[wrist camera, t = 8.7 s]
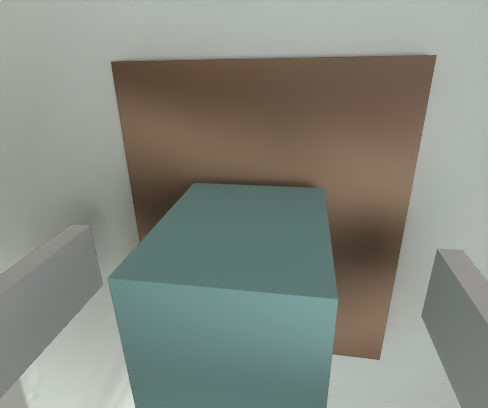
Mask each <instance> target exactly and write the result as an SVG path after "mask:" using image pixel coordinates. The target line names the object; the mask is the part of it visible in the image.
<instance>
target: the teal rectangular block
mask: <svg viewBox="0 0 488 408" xmlns="http://www.w3.org/2000/svg"><path fill="white" fill-rule="evenodd" d="M108 282H109V287H110V291H111V296H112V301H113V305H114V310H115V314H116V319H117V324H118V328H119V333H120V338H121V342H122V347H123V352H124V356H125V361H126V366H127V370H128V375H129V380H130V384H131V389H132V394H133V398H134V403H135V408H326V406H327V397H328V388H329V379H330V369H331V360H332V351H333V342H334V333H335V323H336V314H337V305H338V294H337V286H336V278H335V270H334V261H333V253H332V245H331V237H330V228H329V220H328V212H327V204H326V195H325V188H309V187H284V186H259V185H234V184H209V183H194V184H193V185H192V186H191V187H190V188H189V189H188V190H187V191H186V192H185V193H184V195H183V196H182V197H181V198H180V199H179V200H178V201H177V202H176V203H175V204H174V206H173V207H172V208H171V209H170V210H169V211H168V212H167V213H166V214H165V216H164V217H163V218H162V219H161V220H160V221H159V222H158V223H157V224H156V225H155V227H154V228H153V229H152V230H151V231H150V232H149V233H148V234H147V235H146V236H145V238H144V239H143V240H142V241H141V242H140V243H139V244H138V245H137V246H136V247H135V249H134V250H133V251H132V252H131V253H130V254H129V255H128V256H127V257H126V258H125V260H124V261H123V262H122V263H121V264H120V265H119V266H118V267H117V268H116V270H115V271H114V272H113V273H112V274H111V275H110V276H109V277H108Z"/></svg>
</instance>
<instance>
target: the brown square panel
mask: <svg viewBox="0 0 488 408" xmlns="http://www.w3.org/2000/svg"><path fill="white" fill-rule="evenodd" d="M436 56H437V55H419V56H369V57H318V58H268V59H218V60H167V61H118V62H111V65H112V71H113V77H114V84H115V90H116V96H117V102H118V109H119V115H120V121H121V127H122V134H123V140H124V146H125V153H126V159H127V165H128V171H129V178H130V184H131V190H132V196H133V203H134V209H135V215H136V222H137V228H138V234H139V240H140V242H141V241H142V240H143V239H144V238H145V236H146V235H147V234H148V233H149V232H150V231H151V230H152V229H153V228H154V227H155V225H156V224H157V223H158V222H159V221H160V220H161V219H162V218H163V217H164V216H165V214H166V213H167V212H168V211H169V210H170V209H171V208H172V207H173V206H174V204H175V203H176V202H177V201H178V200H179V199H180V198H181V197H182V196H183V195H184V193H185V192H186V191H187V190H188V189H189V188H190V187H191V186H192V185H193V184H194V183H209V184H234V185H259V186H284V187H309V188H325V195H326V204H327V212H328V220H329V228H330V237H331V245H332V253H333V261H334V270H335V278H336V286H337V294H338V305H337V314H336V323H335V333H334V342H333V351H332V354H335V355H343V356H351V357H360V358H368V359H376V360H380V355H381V349H382V344H383V339H384V333H385V328H386V323H387V317H388V312H389V307H390V301H391V296H392V291H393V285H394V280H395V275H396V269H397V264H398V259H399V253H400V248H401V243H402V237H403V232H404V227H405V221H406V216H407V211H408V205H409V200H410V195H411V189H412V184H413V179H414V173H415V168H416V162H417V157H418V152H419V146H420V141H421V136H422V130H423V125H424V120H425V114H426V109H427V104H428V98H429V93H430V88H431V82H432V77H433V72H434V66H435V61H436Z"/></svg>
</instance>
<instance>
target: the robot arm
mask: <svg viewBox="0 0 488 408" xmlns="http://www.w3.org/2000/svg"><path fill="white" fill-rule="evenodd" d="M102 285H103V283H102V278H101V274H100V269H99V264H98V260H97V255H96V251H95V246H94V242H93V237H92V233H91V228H90V225H76V224H72V225H70V226H69V227H67V228H66V229H65V230H63V231H62V232H60V233H59V234H57V235H56V236H55V237H53V238H52V239H50V240H49V241H48V242H46V243H45V244H43V245H42V246H41V247H39V248H38V249H36V250H35V251H33V252H32V253H31V254H29V255H28V256H26V257H25V258H24V259H22V260H21V261H19V262H18V263H17V264H15V265H14V266H12V267H11V268H9V269H8V270H7V271H5V272H4V273H2V274H1V275H0V398H1V397H2V396H3V395H4V394H5V393H6V391H7V390H8V389H9V388H10V387H11V386H12V385H13V384H14V383H15V381H16V380H17V379H18V378H19V377H20V376H21V375H22V374H23V373H24V372H25V370H26V369H27V368H28V367H29V366H30V365H31V364H32V363H33V362H34V360H35V359H36V358H37V357H38V356H39V355H40V354H41V353H42V352H43V351H44V349H45V348H46V347H47V346H48V345H49V344H50V343H51V342H52V341H53V339H54V338H55V337H56V336H57V335H58V334H59V333H60V332H61V331H62V329H63V328H64V327H65V326H66V325H67V324H68V323H69V322H70V321H71V319H72V318H73V317H74V316H75V315H76V314H77V313H78V312H79V311H80V310H81V308H82V307H83V306H84V305H85V304H86V303H87V302H88V301H89V300H90V298H91V297H92V296H93V295H94V294H95V293H96V292H97V291H98V290H99V288H100V287H101V286H102ZM422 318H423V321H424V323H425V325H426V328H427V330H428V332H429V334H430V337H431V339H432V341H433V344H434V346H435V348H436V351H437V353H438V355H439V357H440V360H441V362H442V364H443V367H444V369H445V371H446V374H447V376H448V378H449V380H450V383H451V385H452V387H453V390H454V392H455V394H456V397H457V399H458V401H459V403H460V406H461V408H488V281H487V280H486V279H485V278H484V276H483V275H482V274H481V272H480V271H479V270H478V269H477V267H476V266H475V265H474V264H473V262H472V261H471V260H470V259H469V257H468V256H467V255H466V254H465V252H464V251H462V250H447V249H437V252H436V256H435V261H434V265H433V269H432V273H431V278H430V282H429V286H428V290H427V294H426V299H425V303H424V307H423V311H422Z"/></svg>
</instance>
